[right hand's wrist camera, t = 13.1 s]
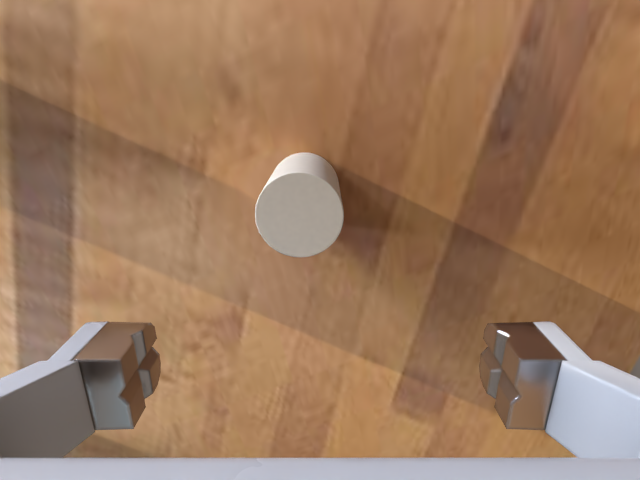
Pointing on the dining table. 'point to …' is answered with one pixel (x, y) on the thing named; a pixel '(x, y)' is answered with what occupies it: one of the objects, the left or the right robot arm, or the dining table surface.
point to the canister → (300, 206)
